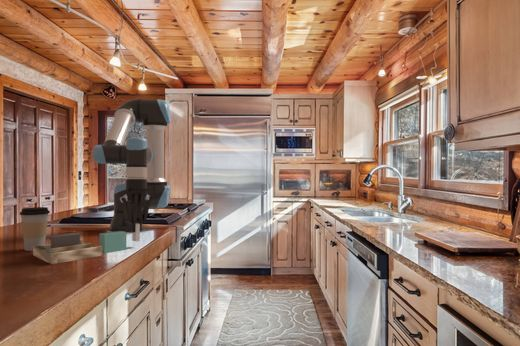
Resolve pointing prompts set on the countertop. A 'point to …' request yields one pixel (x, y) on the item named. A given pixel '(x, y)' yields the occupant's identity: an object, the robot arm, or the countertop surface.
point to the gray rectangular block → (65, 240)
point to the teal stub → (113, 241)
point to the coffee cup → (34, 226)
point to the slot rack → (66, 252)
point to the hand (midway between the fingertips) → (136, 240)
